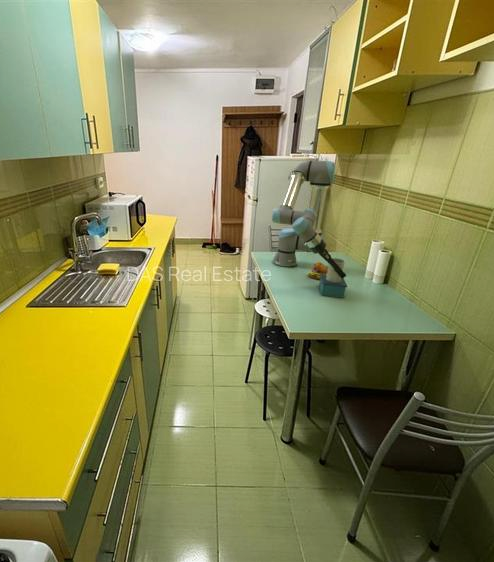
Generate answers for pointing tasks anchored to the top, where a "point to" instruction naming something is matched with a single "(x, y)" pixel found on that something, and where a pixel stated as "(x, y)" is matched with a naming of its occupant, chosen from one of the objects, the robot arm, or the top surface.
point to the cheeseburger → (317, 270)
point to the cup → (333, 275)
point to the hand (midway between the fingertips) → (341, 274)
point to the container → (332, 287)
